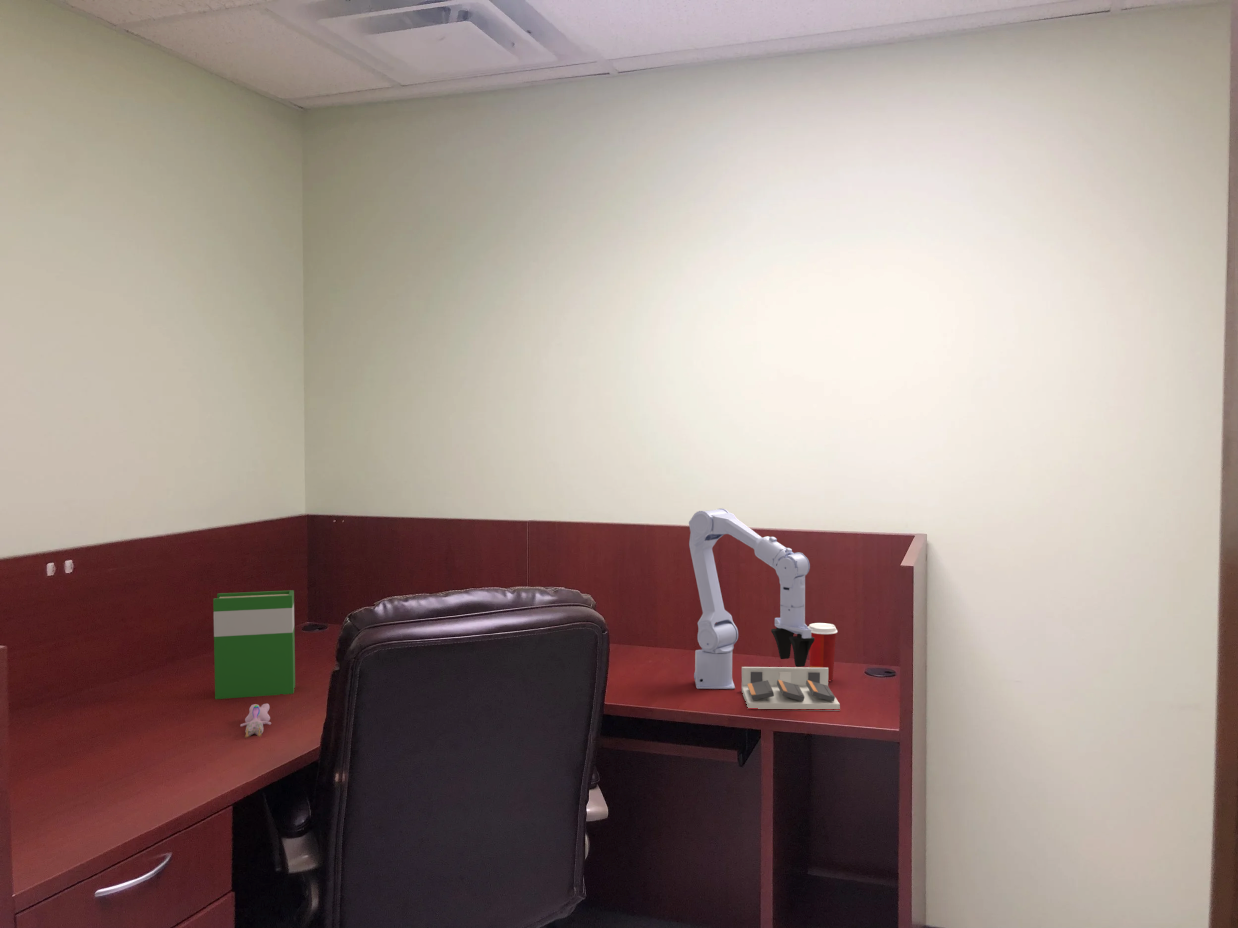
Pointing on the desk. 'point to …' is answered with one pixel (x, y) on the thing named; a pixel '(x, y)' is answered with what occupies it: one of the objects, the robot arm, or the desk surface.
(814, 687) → the switch
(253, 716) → the pink and white figure
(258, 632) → the hardback book
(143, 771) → the desk surface
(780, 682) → the switch
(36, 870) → the desk surface
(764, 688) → the switch
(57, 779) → the desk surface
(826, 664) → the paper cup
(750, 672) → the switch unit
